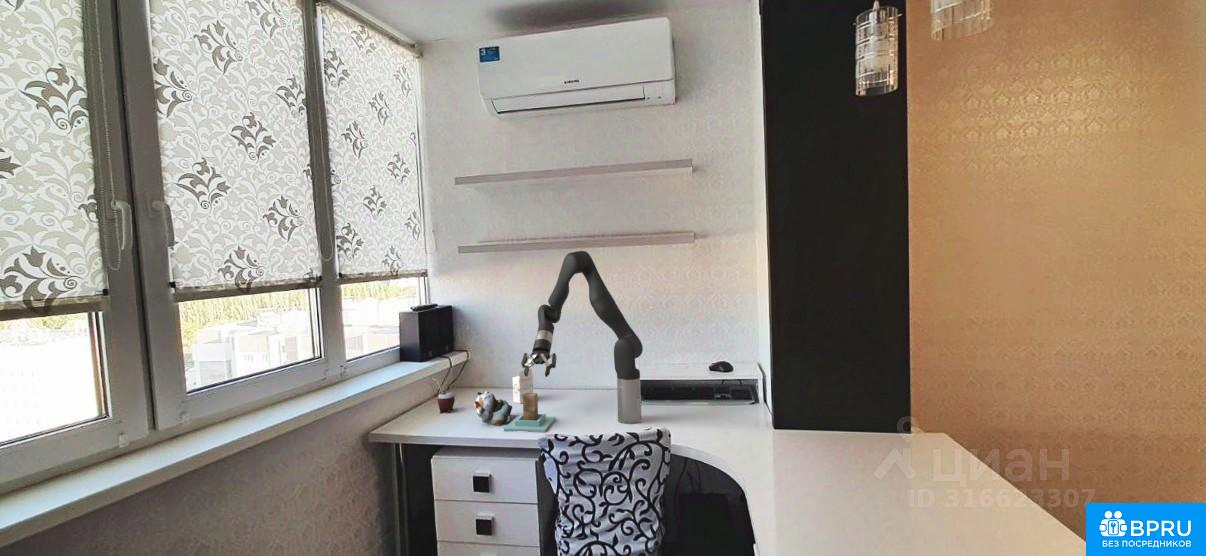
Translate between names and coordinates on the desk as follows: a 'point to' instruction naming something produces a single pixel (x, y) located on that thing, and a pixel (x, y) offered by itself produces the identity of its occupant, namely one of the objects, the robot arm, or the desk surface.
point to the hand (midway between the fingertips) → (536, 375)
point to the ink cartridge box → (522, 386)
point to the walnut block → (530, 406)
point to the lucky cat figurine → (492, 408)
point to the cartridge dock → (530, 424)
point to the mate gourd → (445, 400)
